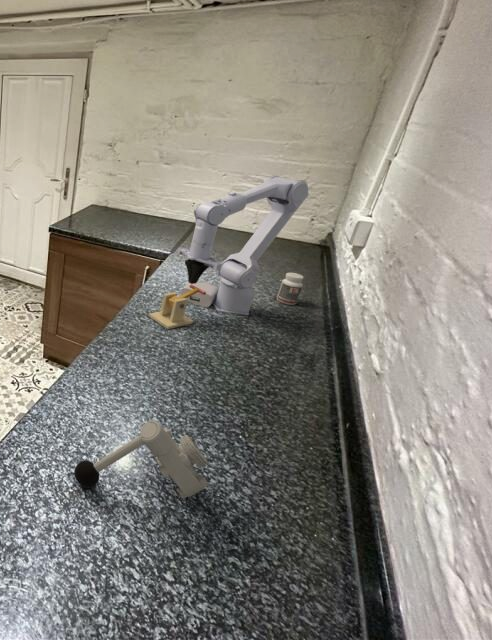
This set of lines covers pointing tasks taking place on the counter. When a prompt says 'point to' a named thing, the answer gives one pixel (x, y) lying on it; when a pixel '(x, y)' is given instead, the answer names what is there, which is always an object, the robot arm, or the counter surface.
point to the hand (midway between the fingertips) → (192, 282)
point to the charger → (199, 297)
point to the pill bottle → (290, 289)
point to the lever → (185, 295)
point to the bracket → (172, 313)
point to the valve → (169, 454)
